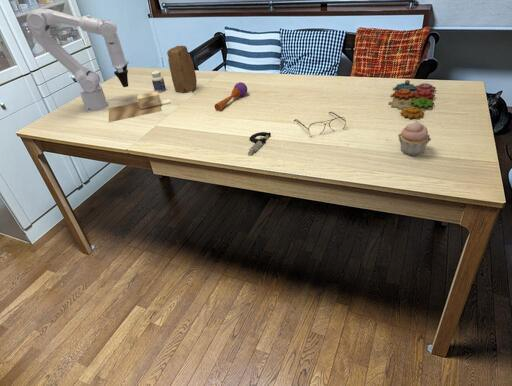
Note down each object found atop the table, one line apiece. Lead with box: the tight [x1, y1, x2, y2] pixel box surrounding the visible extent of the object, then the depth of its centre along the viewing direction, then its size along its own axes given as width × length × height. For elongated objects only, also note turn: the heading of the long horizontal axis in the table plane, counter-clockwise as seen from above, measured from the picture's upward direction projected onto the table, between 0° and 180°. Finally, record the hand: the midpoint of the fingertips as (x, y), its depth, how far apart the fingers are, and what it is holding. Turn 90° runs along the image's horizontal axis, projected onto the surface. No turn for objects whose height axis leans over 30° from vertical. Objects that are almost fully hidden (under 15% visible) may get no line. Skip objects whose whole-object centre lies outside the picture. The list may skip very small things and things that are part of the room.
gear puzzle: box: [388, 79, 436, 119], centre depth 141 cm, size 31×16×4 cm, turn 158°
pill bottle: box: [150, 70, 167, 93], centre depth 174 cm, size 5×5×10 cm
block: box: [166, 45, 198, 94], centre depth 169 cm, size 11×8×20 cm
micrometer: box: [247, 131, 272, 156], centre depth 127 cm, size 15×7×2 cm, turn 151°
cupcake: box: [397, 120, 432, 156], centre depth 112 cm, size 9×9×10 cm
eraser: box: [160, 98, 171, 106], centre depth 163 cm, size 4×4×2 cm
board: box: [108, 101, 162, 123], centre depth 161 cm, size 22×16×1 cm
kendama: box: [214, 81, 248, 112], centre depth 158 cm, size 6×6×20 cm
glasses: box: [293, 111, 347, 137], centre depth 134 cm, size 14×15×5 cm
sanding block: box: [137, 91, 163, 110], centre depth 160 cm, size 9×4×5 cm, turn 108°
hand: (125, 83), depth 163 cm, fingers open, 7 cm apart
